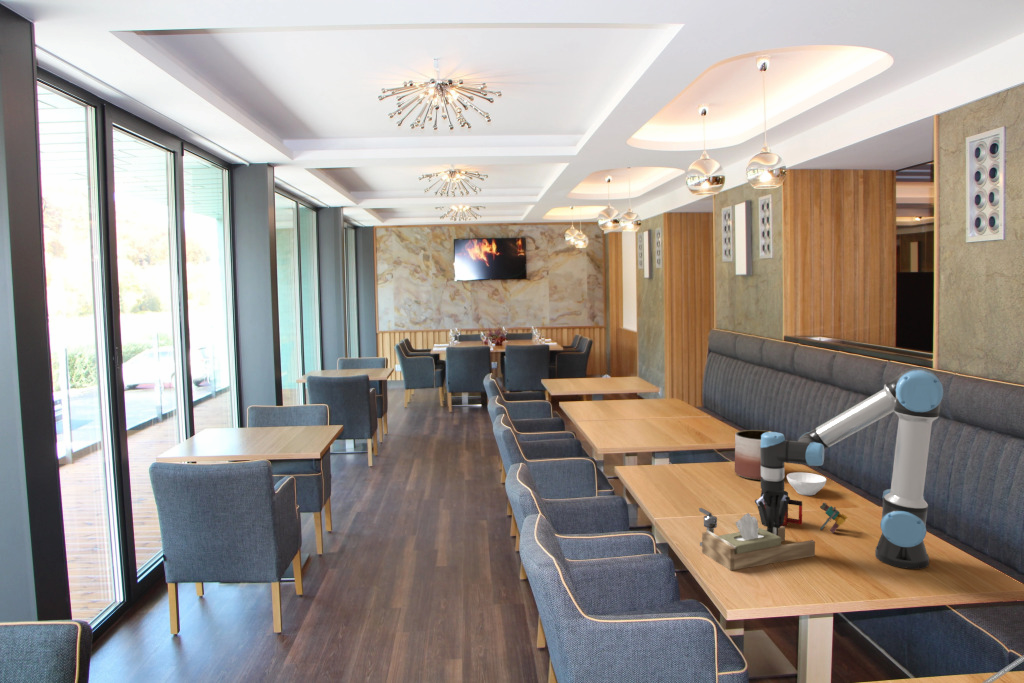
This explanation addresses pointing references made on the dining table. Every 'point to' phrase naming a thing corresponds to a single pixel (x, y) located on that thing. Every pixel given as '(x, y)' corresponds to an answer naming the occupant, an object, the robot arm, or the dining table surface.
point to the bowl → (806, 482)
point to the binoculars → (833, 516)
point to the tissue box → (751, 536)
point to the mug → (786, 519)
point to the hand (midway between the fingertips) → (772, 545)
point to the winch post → (709, 521)
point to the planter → (748, 454)
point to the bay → (732, 561)
